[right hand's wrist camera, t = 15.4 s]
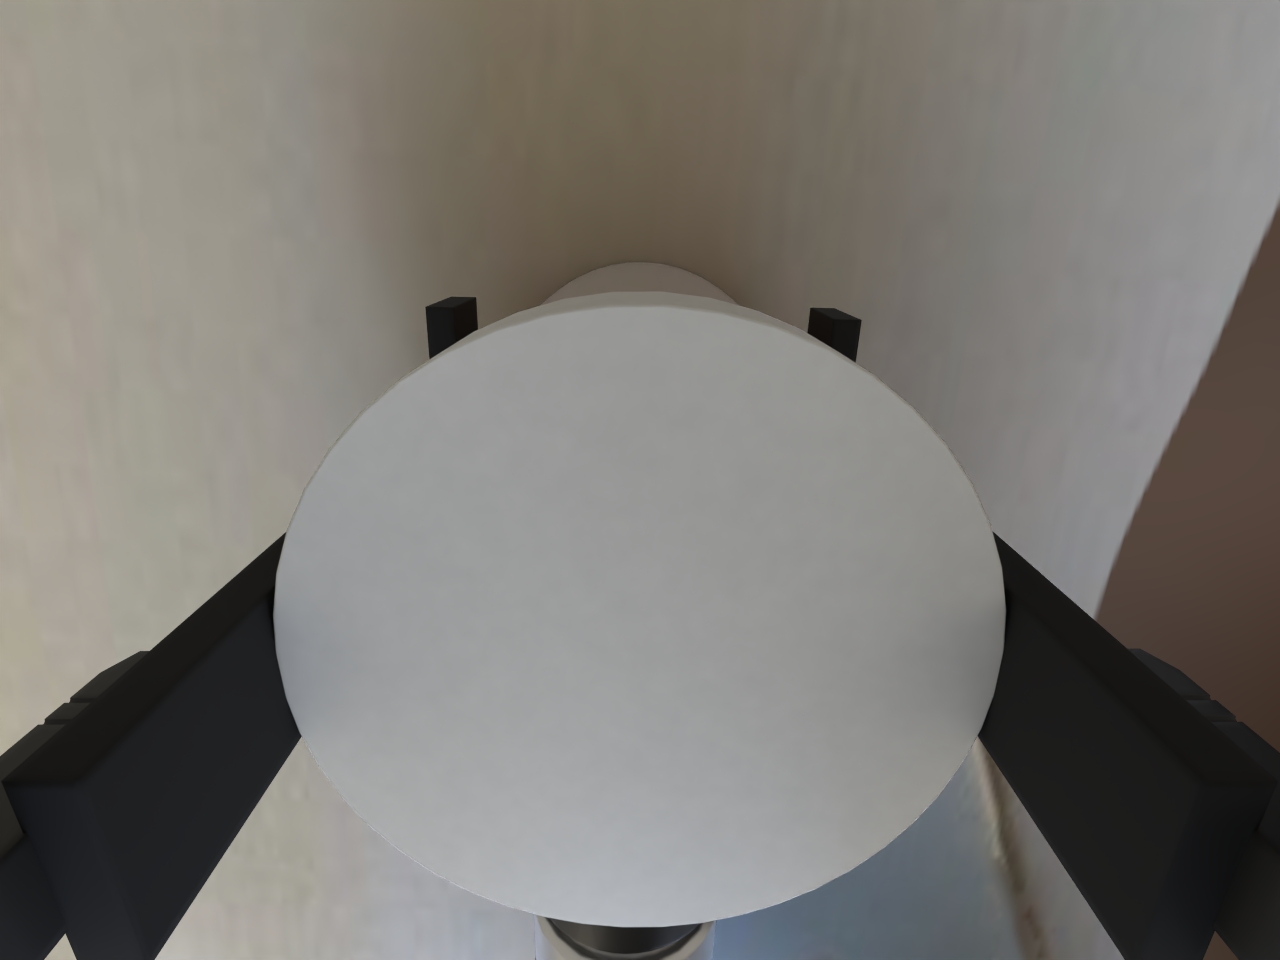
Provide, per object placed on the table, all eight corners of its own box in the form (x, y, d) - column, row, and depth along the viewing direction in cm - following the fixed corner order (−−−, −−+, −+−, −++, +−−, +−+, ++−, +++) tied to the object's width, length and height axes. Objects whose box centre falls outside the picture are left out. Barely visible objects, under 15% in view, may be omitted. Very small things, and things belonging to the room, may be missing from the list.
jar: (548, 222, 25) (379, 220, 9) (811, 314, 26) (1095, 463, 10) (481, 476, 28) (271, 813, 12) (715, 547, 29) (809, 941, 13)
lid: (389, 183, 10) (338, 175, 8) (1079, 421, 11) (1158, 457, 9) (281, 770, 13) (231, 846, 12) (804, 897, 15) (825, 982, 13)
